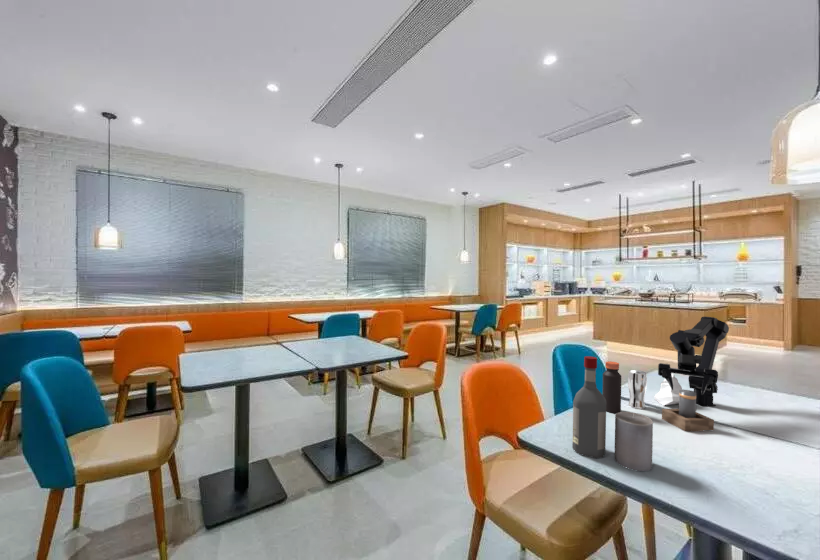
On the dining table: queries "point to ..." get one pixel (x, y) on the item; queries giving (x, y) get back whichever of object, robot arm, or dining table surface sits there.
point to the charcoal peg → (687, 403)
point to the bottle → (612, 387)
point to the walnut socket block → (687, 421)
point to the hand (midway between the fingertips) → (687, 391)
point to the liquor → (589, 415)
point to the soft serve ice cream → (669, 392)
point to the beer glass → (637, 388)
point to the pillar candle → (633, 441)
